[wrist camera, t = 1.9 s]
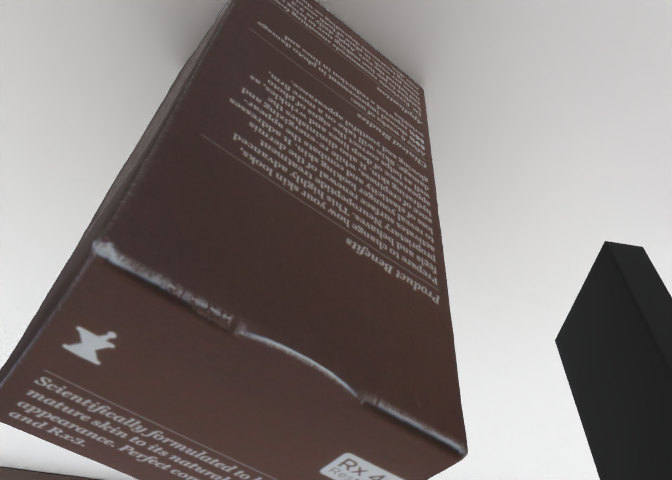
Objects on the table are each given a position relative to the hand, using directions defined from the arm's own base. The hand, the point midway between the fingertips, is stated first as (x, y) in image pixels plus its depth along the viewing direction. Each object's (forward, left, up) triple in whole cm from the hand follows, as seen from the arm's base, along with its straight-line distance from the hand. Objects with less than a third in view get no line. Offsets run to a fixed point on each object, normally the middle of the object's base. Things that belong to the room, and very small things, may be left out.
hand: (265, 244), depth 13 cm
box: (0, 0, -8) cm, 8 cm away
